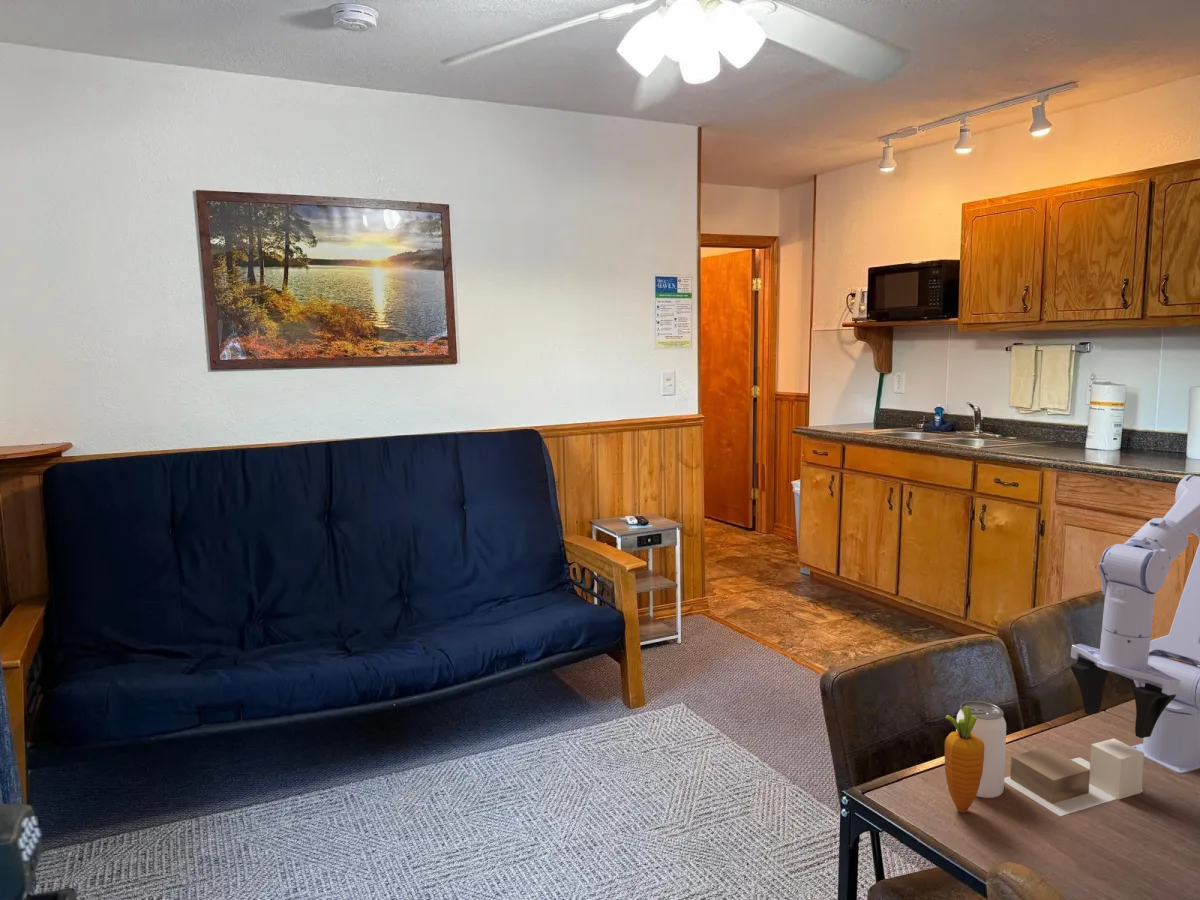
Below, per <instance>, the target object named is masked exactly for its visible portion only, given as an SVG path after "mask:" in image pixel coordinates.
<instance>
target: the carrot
mask: <svg viewBox="0 0 1200 900" xmlns="http://www.w3.org/2000/svg"><path fill="white" fill-rule="evenodd" d="M963 711H964V719H960V720H959V722H958V723H957V719H956V718H954V717H952V716H951V715H949V714H946V715H945V719H946V720H948V721H949V722H950V723H951V724H952V725H953V726H954V727H955V730H956V729H957V732H956V731H951V732H950V733H948V736H946V738H945V740H944V769H945V770H944V771H945V772H944V773H945V778H946V782H947V783H946V785H947V787H948V792H949V794H950V797H951V800H952V802H953V804H954V806H955V809H956V810H957V811H958V812H959V813H962V814H965V813H967V812H968V810H969V809H970V807H971V806H972V804H973V802H974V800H975V799H976V797H977V796H976V795H977V792H978V789H979V785H980V781H981V777H982V771H983V762H984V743H983V742H982V741H981V740H980V739H979V738H978V737H977V736H976V735H975V734H972V733H971V731H972V729H973V727H974V725H975V723H976V720H977V718H976V717H975V716H974V715H972V714H971V708H969V707H967V706H965V707H963Z"/></svg>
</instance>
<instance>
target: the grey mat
mask: <svg viewBox="0 0 1200 900" xmlns="http://www.w3.org/2000/svg"><path fill="white" fill-rule="evenodd" d="M1071 760H1072V761H1074V762H1076V763H1078V764H1080V765H1082V766H1084V767H1086V768H1087V769H1089V770H1090V761H1088V760H1086V759H1084V758H1082V757H1076V758H1071ZM1010 776H1011V775H1010ZM1010 776H1007V777H1004V784H1006V785H1008V786H1010V787H1011V788H1013V789H1015V791H1018V792H1020V793H1021V794H1022V795H1024V796H1025V797H1028V798H1029V799H1031V800H1032V801H1034V802H1035V803H1037V804H1039V805H1040V806H1042V807H1044V808H1046V809H1047V810H1048V811H1050V812H1052V813H1053V814H1055V815H1056V816H1058V817H1063V816H1067V815H1069V814H1072V813H1075V812H1079V811H1082V810H1086V809H1088V808H1092V807H1096V806H1099V805H1101V804H1105V803H1108V802H1112V801H1116V800H1117V799H1116V798H1115V797H1113V796H1111V795H1109V794H1107V793H1106V792H1104V791H1102V790H1100V789H1098V788H1097V787H1095V786H1093V785H1091V784H1089V793H1087V794H1084V795H1080V796H1077V797H1074V798H1070V799H1067V800H1063V801H1060V802H1057V803H1053V804H1051V803H1050V802H1048V801H1046V800H1045V799H1043V798H1041V797H1040V796H1038V795H1036V794H1035V793H1033V792H1031V791H1030V790H1028V789H1027V788H1025V787H1023V786H1022V785H1020V784H1018V783H1017V782H1015V781H1013V780H1012V779H1010ZM1141 792H1144V790H1143V789H1142V790H1141Z"/></svg>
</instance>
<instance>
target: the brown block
mask: <svg viewBox="0 0 1200 900" xmlns="http://www.w3.org/2000/svg"><path fill="white" fill-rule="evenodd" d="M1010 758H1011V759H1010V779H1012V780H1013V781H1015V782H1017V783H1018V784H1020V785H1022V786H1023V787H1025V788H1027V789H1028V790H1030V791H1031V792H1033V793H1035V794H1036V795H1038V796H1040V797H1041V798H1043V799H1045V800H1046V801H1048V802H1050V803H1051V804H1053V803H1057V802H1060V801H1063V800H1067V799H1070V798H1074V797H1077V796H1080V795H1084V794H1087V793H1089V780H1090V770H1089V769H1087V768H1086V767H1084V766H1082V765H1080V764H1078V763H1076V762H1074V761H1072V760H1071V759H1072V758H1071V759H1070V758H1068V757H1066V756H1065V755H1063V754H1061V753H1059V752H1057V751H1056V750H1054V749H1052V748H1049V747H1048V746H1045V747H1042V748H1037V749H1035V750H1031V751H1026V752H1023V753H1019V754H1015V755H1012V756H1011V757H1010Z"/></svg>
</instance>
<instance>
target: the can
mask: <svg viewBox="0 0 1200 900" xmlns="http://www.w3.org/2000/svg"><path fill="white" fill-rule="evenodd" d="M965 706H967V707H969V708H971V714H972V715H974V716H975V717H976V718H977V720H976V723H975V725H974V727H973V729H972V731H971V733H972V734H975V735H976V736H977V737H978V738H979V739H980V740H981V741H982V742H983V743H984V762H983V771H982V777H981V781H980V785H979V789H978V792H977V795H976V797H978V798H986V799H987V798H988V799H989V798H990V799H991V798H996V797H999V796H1001V795H1002V794H1003V792H1004V788H1005V782H1004V778H1005V773H1006V771H1005V769H1006V768H1005V767H1006V766H1005V765H1006V745H1007V744H1006V743H1007V742H1006V741H1007V722H1006V720H1005V718H1004V710H1002V709H1001V708H1000V707H999V706H997V705H995V704H993V703H989V702H986V701H981V700H980V701H979V700H970V701H965V702H963V703H961V705H960V706H959V710H958V713H957V715H956V721H957V723H958V722H959V720H960V719H964V711H963V707H965ZM955 732H957V729H956V728H955Z"/></svg>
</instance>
